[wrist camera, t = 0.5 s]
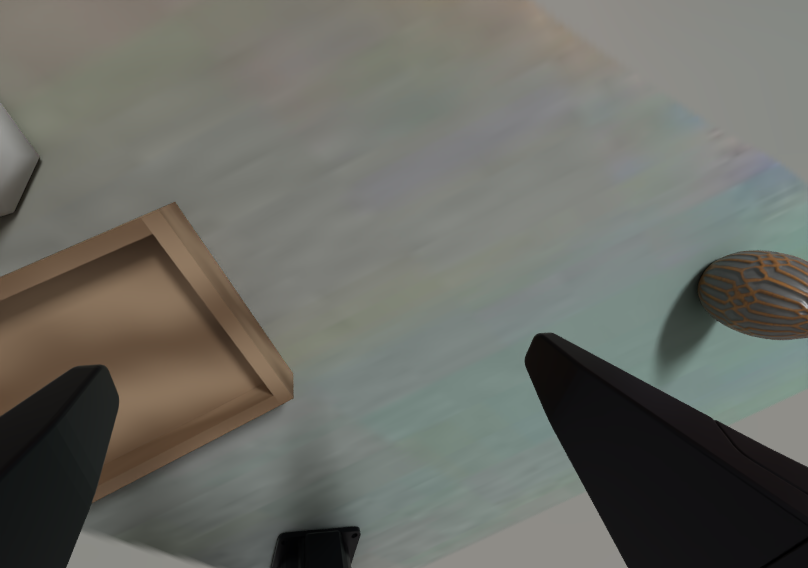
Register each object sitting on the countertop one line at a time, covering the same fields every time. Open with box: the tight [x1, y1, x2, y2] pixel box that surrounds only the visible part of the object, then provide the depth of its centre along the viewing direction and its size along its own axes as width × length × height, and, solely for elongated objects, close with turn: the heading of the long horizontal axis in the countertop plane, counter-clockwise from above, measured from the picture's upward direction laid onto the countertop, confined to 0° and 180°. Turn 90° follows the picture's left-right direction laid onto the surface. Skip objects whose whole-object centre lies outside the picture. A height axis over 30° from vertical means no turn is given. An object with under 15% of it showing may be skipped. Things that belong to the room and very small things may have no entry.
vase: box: [698, 250, 808, 340], centre depth 28 cm, size 7×7×9 cm
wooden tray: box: [0, 202, 294, 503], centre depth 18 cm, size 12×14×2 cm
